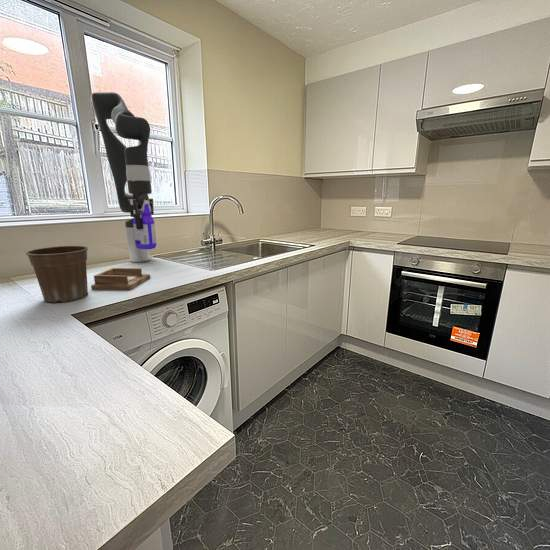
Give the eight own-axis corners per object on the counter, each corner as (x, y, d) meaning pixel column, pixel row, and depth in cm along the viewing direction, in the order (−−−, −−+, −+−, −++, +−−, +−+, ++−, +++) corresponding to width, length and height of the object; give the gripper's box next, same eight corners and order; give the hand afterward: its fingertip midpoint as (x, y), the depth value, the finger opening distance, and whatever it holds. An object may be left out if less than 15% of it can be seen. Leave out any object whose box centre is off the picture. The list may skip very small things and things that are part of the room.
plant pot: (73, 287, 109) (65, 243, 105) (106, 292, 104) (99, 246, 99) (24, 302, 94) (12, 252, 90) (60, 308, 89) (49, 256, 85)
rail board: (117, 277, 122) (115, 266, 121) (150, 277, 121) (148, 267, 120) (91, 289, 107) (89, 277, 105) (129, 290, 106) (127, 278, 105)
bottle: (160, 247, 112) (155, 200, 107) (150, 250, 106) (144, 200, 102) (143, 246, 113) (138, 199, 109) (133, 249, 108) (126, 200, 103)
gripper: (138, 180, 110) (143, 225, 115) (116, 178, 97) (123, 230, 101) (158, 180, 110) (162, 226, 114) (139, 178, 96) (145, 230, 101)
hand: (144, 228), depth 108 cm, fingers closed on bottle, 6 cm apart
